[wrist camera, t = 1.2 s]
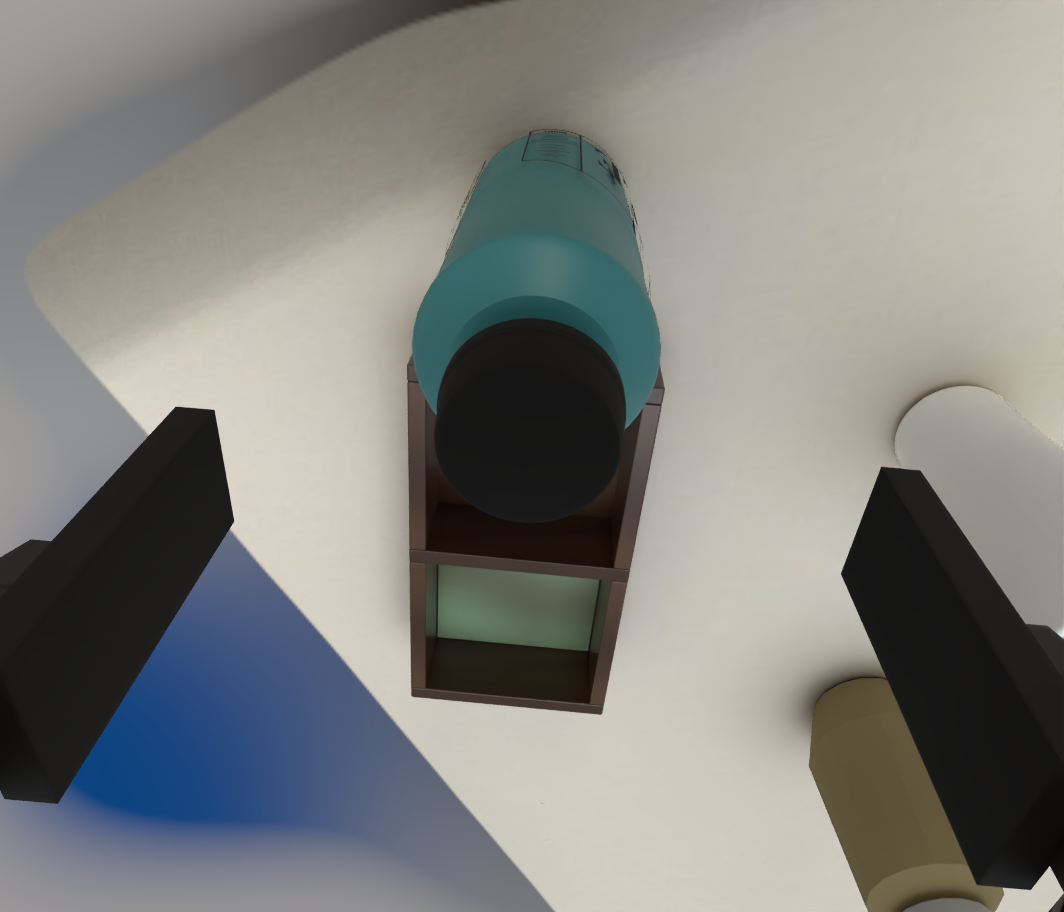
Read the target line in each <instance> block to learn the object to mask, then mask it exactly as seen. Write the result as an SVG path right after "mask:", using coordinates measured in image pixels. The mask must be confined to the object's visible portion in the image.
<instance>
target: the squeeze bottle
mask: <svg viewBox="0 0 1064 912" xmlns="http://www.w3.org/2000/svg"><path fill="white" fill-rule="evenodd" d="M809 767H810V770H811V772H812V775H813V777H814V780H815V782H816V785H817V787H818V790H819V792H820V795H821V797H822V799H823V802H824V804H825V807H826V809H827V812H828V814H829V817H830V819H831V822H832V824H833V827H834V829H835V832H836V834H837V836H838V839H839V841H840V844H841V846H842V849H843V851H844V854H845V856H846V859H847V861H848V864H849V866H850V869H851V871H852V873H853V876H854V878H855V881H856V883H857V886H858V888H859V891H860V893H861V896H862V898H863V901H864V903H865V905H866V907H867V910H868V912H995V911H996V909H997V908H998V906H999V904H1000V902H1001V900H1002V898H1003V896H1004V892H1003V888H1002V887H992V886H981V885H976V882H975V880H974V878H973V876H972V873H971V871H970V869H969V866H968V864H967V862H966V859H965V857H964V855H963V853H962V850H961V848H960V846H959V843H958V841H957V839H956V836H955V834H954V832H953V830H952V827H951V825H950V823H949V820H948V818H947V816H946V814H945V811H944V809H943V807H942V804H941V802H940V800H939V797H938V795H937V793H936V791H935V788H934V786H933V784H932V781H931V779H930V777H929V775H928V772H927V770H926V768H925V765H924V763H923V761H922V758H921V756H920V754H919V752H918V749H917V747H916V745H915V742H914V740H913V738H912V736H911V733H910V731H909V729H908V726H907V724H906V722H905V719H904V717H903V715H902V713H901V710H900V708H899V706H898V703H897V701H896V699H895V697H894V694H893V692H892V690H891V687H890V685H889V683H888V680H885V679H881V678H859V679H855V680H851V681H847V682H844V683H840V684H839V685H837V686H835V687H834V688H832V689H830V690H828V691H827V692H825V693H824V694H823V696H822V697H821V698H820V699H819V700H818V702H817V703H816V705H815V710H814V715H813V725H812V736H811V748H810V759H809Z"/></svg>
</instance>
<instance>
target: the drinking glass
mask: <svg viewBox="0 0 1064 912" xmlns="http://www.w3.org/2000/svg"><path fill="white" fill-rule="evenodd" d="M894 446H895V453H896V457H897V460H898V462H899V464H900V466H901V468H902V469H911V470H921V472H922V473H923V475H924V476H925V478H926V479H927V481H928V482H929V484H930V485H931V486H932V488H933V489H934V491H935V492H936V494H937V495H938V497H939V498H940V500H941V501H942V503H943V504H944V505H945V507H946V508H947V510H948V511H949V513H950V514H951V516H952V517H953V519H954V520H955V521H956V523H957V524H958V526H959V527H960V529H961V530H962V532H963V533H964V535H965V536H966V538H967V539H968V540H969V542H970V543H971V545H972V546H973V548H974V549H975V551H976V552H977V554H978V555H979V557H980V558H981V559H982V561H983V562H984V564H985V565H986V567H987V568H988V570H989V571H990V573H991V574H992V576H993V577H994V578H995V580H996V581H997V583H998V584H999V586H1000V587H1001V589H1002V590H1003V592H1004V593H1005V594H1006V596H1007V597H1008V599H1009V600H1010V602H1011V603H1012V605H1013V606H1014V608H1015V609H1016V611H1017V612H1018V613H1019V615H1020V616H1021V618H1022V619H1023V621H1024V622H1025V624H1034V625H1046V626H1048V627H1050V628H1051V629H1052V630H1053V631H1055V632H1056V633H1057V634H1058V635H1059V636H1061V637H1062V638H1063V639H1064V449H1062V448H1061V447H1060V446H1058V445H1057V444H1056V443H1055V442H1053V441H1052V440H1051V439H1050V438H1048V437H1047V436H1046V435H1045V434H1043V433H1042V432H1041V431H1040V430H1038V429H1037V428H1036V427H1034V426H1033V425H1032V424H1031V423H1030V422H1028V421H1027V420H1026V419H1025V418H1023V417H1022V416H1021V415H1020V414H1019V413H1018V412H1017V411H1016V410H1015V409H1014V408H1013V407H1012V406H1011V405H1010V404H1009V403H1008V402H1007V401H1006V400H1005V399H1004V398H1002V397H1001V396H1000V395H998V394H997V393H995V392H993V391H991V390H988V389H985V388H982V387H977V386H955V387H949V388H945V389H942V390H939V391H937V392H934V393H932V394H930V395H928V396H927V397H925V398H923V399H922V400H920V401H919V402H918V403H916V404H915V405H914V406H913V407H912V408H911V409H910V410H909V411H908V412H907V413H906V415H905V416H904V417H903V419H902V421H901V422H900V424H899V426H898V429H897V432H896V435H895V444H894Z"/></svg>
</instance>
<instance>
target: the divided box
mask: <svg viewBox="0 0 1064 912" xmlns="http://www.w3.org/2000/svg"><path fill="white" fill-rule="evenodd" d="M407 380H408V383H407V387H408V466H409V545H410V549H409V555H410V631H411V695H412V697H421V698H431V699H442V700H452V701H463V702H473V703H484V704H494V705H505V706H515V707H526V708H536V709H547V710H557V711H568V712H578V713H589V714H599V715H601V714H602V712H603V706H604V702H605V696H606V691H607V686H608V681H609V676H610V670H611V665H612V660H613V655H614V650H615V645H616V639H617V634H618V629H619V624H620V619H621V613H622V608H623V603H624V598H625V593H626V588H627V582H628V578H629V572H630V567H631V562H632V557H633V551H634V546H635V541H636V536H637V531H638V526H639V520H640V515H641V510H642V505H643V500H644V495H645V489H646V484H647V479H648V474H649V469H650V463H651V458H652V453H653V448H654V443H655V438H656V432H657V427H658V422H659V417H660V412H661V404H662V401H663V396H664V391H665V388H664V383H663V378H662V373H661V368H660V364H659V370H658V375H657V378H656V381H655V384H654V387H653V390H652V392H651V394H650V396H649V398H648V400H647V402H646V404H645V405H644V407H643V408H642V410H641V411H640V413H639V414H638V416H637V417H636V418H635V419H634V420H633V422H632V423H631V424H630V425H629V426H628V427H627V428H626V429H625V430H624V433H623V447H622V455H621V459H620V462H619V466H618V468H617V470H616V473H615V475H614V476H613V478H612V480H611V482H610V483H609V485H608V486H607V487H606V489H605V490H604V491H603V492H602V493H601V495H600V496H598V497H597V498H596V499H595V500H594V501H593V502H592V503H590V504H589V505H587V506H586V507H585V508H583V509H581V510H579V511H578V512H576V513H574V514H571V515H569V516H567V517H564V518H560V519H557V520H552V521H547V522H538V523H523V522H514V521H509V520H505V519H501V518H498V517H495V516H492V515H490V514H487V513H485V512H483V511H481V510H479V509H478V508H476V507H474V506H473V505H471V504H470V503H468V502H467V501H466V500H464V499H463V498H462V497H461V496H460V495H459V494H458V493H457V492H456V491H455V490H454V489H453V487H452V486H451V485H450V484H449V482H448V481H447V479H446V478H445V476H444V474H443V472H442V470H441V468H440V465H439V462H438V459H437V455H436V451H435V445H434V428H435V421H436V414H435V413H434V411H433V410H432V409H431V407H430V405H429V403H428V402H427V400H426V398H425V396H424V394H423V391H422V389H421V387H420V385H419V382H418V378H417V375H416V372H415V367H414V361H413V353H412V355H411V358H410V360H409V362H408V364H407Z"/></svg>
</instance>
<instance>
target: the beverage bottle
mask: <svg viewBox="0 0 1064 912" xmlns="http://www.w3.org/2000/svg"><path fill="white" fill-rule="evenodd" d="M542 130H557V129H542ZM535 131H537V130H535ZM562 131H565V130H562ZM531 132H532V131H531ZM531 132H530V133H529V136H526V137H523V138H521V139H518V140H516V141H514V142H512V143H511V144H509V145H507V146H506V147H505V148H503V149H502V150H501V151H500V152H498V153H497V154H496V155H495V156H494V157H493V159H492V160H491V161H490V162H489V163H488V165H487V166H486V167H485V169H484V171H483V172H482V174H481V176H480V178H479V180H478V178H476V179H477V180H478V182H477V181H476V182H477V185H476V187H475V189H474V192H473V194H472V196H471V199H470V201H469V203H468V205H467V208H466V210H465V212H464V214H463V217H462V219H460V224H459V226H458V228H457V230H456V233H455V235H454V237H453V239H454V240H453V239H452V241H453V243H452V242H451V243H452V245H451V244H450V245H451V247H450V246H449V248H450V249H449V248H448V250H449V252H448V251H447V252H448V254H447V253H446V254H447V256H446V255H445V257H446V258H445V260H444V262H443V265H442V267H441V269H440V271H439V273H438V275H437V278H436V279H435V280H434V282H433V283H432V284H431V286H430V288H429V290H428V291H427V293H426V295H425V296H424V299H423V301H422V303H421V306H420V308H419V311H418V313H417V317H416V321H415V325H414V331H413V340H412V350H413V361H414V367H415V372H416V375H417V378H418V382H419V385H420V387H421V389H422V391H423V394H424V396H425V398H426V400H427V402H428V403H429V405H430V407H431V409H432V410H433V411H434V413H435V414H436V421H435V428H434V445H435V451H436V455H437V459H438V462H439V465H440V468H441V470H442V472H443V474H444V476H445V478H446V479H447V481H448V482H449V484H450V485H451V486H452V487H453V489H454V490H455V491H456V492H457V493H458V494H459V495H460V496H461V497H462V498H463V499H464V500H466V501H467V502H468V503H470V504H471V505H473V506H474V507H476V508H478V509H479V510H481V511H483V512H485V513H487V514H490V515H492V516H495V517H498V518H501V519H505V520H509V521H514V522H523V523H538V522H547V521H552V520H557V519H560V518H564V517H567V516H569V515H571V514H574V513H576V512H578V511H579V510H581V509H583V508H585V507H586V506H587V505H589V504H590V503H592V502H593V501H594V500H595V499H596V498H597V497H598V496H600V495H601V493H602V492H603V491H604V490H605V489H606V487H607V486H608V485H609V483H610V482H611V480H612V478H613V476H614V475H615V473H616V470H617V468H618V466H619V462H620V459H621V455H622V447H623V433H624V430H625V429H626V428H627V427H628V426H629V425H630V424H631V423H632V422H633V420H634V419H635V418H636V417H637V416H638V414H639V413H640V411H641V410H642V408H643V407H644V405H645V404H646V402H647V400H648V398H649V396H650V394H651V392H652V390H653V387H654V384H655V381H656V378H657V375H658V370H659V364H660V351H661V345H660V335H659V328H658V323H657V319H656V315H655V312H654V309H653V307H652V304H651V302H650V301H651V298H650V299H649V297H648V294H649V292H648V293H647V289H646V284H645V280H644V273H643V266H642V261H641V257H640V253H639V249H638V245H637V241H636V234H635V227H634V220H633V221H632V219H631V216H630V212H629V208H628V207H630V206H628V204H627V202H629V201H627V199H626V196H625V192H624V191H625V190H624V188H623V185H622V182H621V180H620V177H619V173H618V169H617V168H616V166H615V165H614V164H615V163H614V164H613V162H612V161H614V160H612V159H611V158H610V157H609V156H608V155H609V154H608V153H607V152H606V151H605V150H604V149H603V150H604V151H605V152H606V153H607V154H608V155H607V154H606V155H607V156H608V157H609V158H610V159H611V160H612V161H611V160H610V159H609V158H608V157H607V156H606V155H605V154H604V155H605V156H606V157H607V158H608V159H609V160H610V161H611V163H612V164H611V163H610V161H609V160H608V159H607V158H606V157H605V156H604V155H603V153H602V152H601V151H600V150H602V149H600V150H598V149H597V148H596V147H594V146H593V145H591V144H590V143H588V142H586V141H584V140H582V138H581V135H580V138H577V137H575V136H571V135H567V134H566V133H565V132H564V134H562V133H563V132H562V133H560V132H559V133H558V131H557V132H556V133H538V134H532V135H531ZM545 132H546V131H545ZM548 132H553V131H548ZM554 132H555V131H554ZM568 132H569V131H568ZM571 133H573V132H571ZM575 134H576V133H575ZM578 135H579V134H578ZM583 137H584V136H583ZM585 138H586V137H585ZM587 139H588V138H587ZM592 142H593V141H592ZM594 143H595V142H594ZM595 146H596V145H595ZM598 146H599V145H598ZM599 147H600V146H599ZM603 150H602V151H603ZM485 162H486V161H485ZM483 164H485V163H483ZM616 165H617V164H616ZM483 166H484V165H483ZM482 168H483V167H482ZM481 171H482V170H481ZM619 171H620V170H619ZM480 173H481V172H480ZM620 173H621V172H620ZM479 175H480V174H479ZM622 175H623V174H622ZM476 177H477V176H476ZM478 177H479V176H478ZM623 178H624V176H623ZM474 180H475V179H474ZM623 180H624V179H623ZM625 182H626V181H624V183H625ZM475 184H476V183H475ZM625 184H626V183H625ZM471 186H472V185H471ZM474 186H475V185H474ZM473 188H474V187H473ZM627 188H628V187H627ZM470 189H471V187H470ZM469 191H470V190H469ZM472 191H473V190H472ZM471 193H472V192H471ZM467 195H469V192H468V194H467ZM470 195H471V194H470ZM467 198H469V197H467ZM467 198H465V200H466V201H467ZM468 200H469V199H468ZM630 201H631V200H630ZM463 204H465V201H464V203H463ZM631 206H632V205H631ZM464 207H465V206H464ZM461 208H462V207H461ZM632 208H633V206H632ZM632 208H630V209H632ZM460 211H461V209H460ZM460 211H459V212H460ZM631 212H632V210H631ZM633 212H634V209H633ZM461 213H462V212H461ZM461 213H460V214H461ZM460 214H459V215H460ZM632 214H633V213H632ZM458 217H459V216H458ZM458 217H457V218H458ZM634 217H635V213H634ZM635 219H636V217H635ZM632 222H633V224H632ZM636 224H637V221H636ZM637 227H638V226H637ZM453 229H454V228H453ZM451 231H452V230H451ZM452 233H453V232H452ZM639 235H640V234H639ZM640 239H641V238H640ZM448 241H449V240H448ZM641 242H642V241H641ZM447 245H448V244H447ZM642 248H643V247H642ZM446 250H447V249H446ZM649 278H650V277H649ZM649 287H650V284H649ZM650 297H651V292H650Z"/></svg>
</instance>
